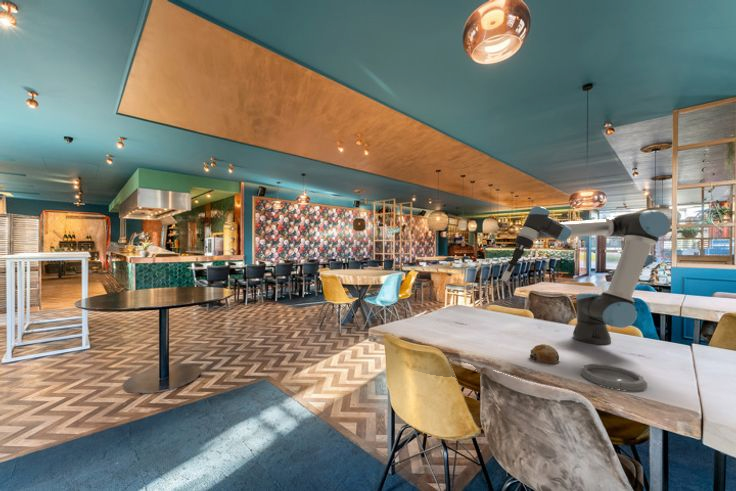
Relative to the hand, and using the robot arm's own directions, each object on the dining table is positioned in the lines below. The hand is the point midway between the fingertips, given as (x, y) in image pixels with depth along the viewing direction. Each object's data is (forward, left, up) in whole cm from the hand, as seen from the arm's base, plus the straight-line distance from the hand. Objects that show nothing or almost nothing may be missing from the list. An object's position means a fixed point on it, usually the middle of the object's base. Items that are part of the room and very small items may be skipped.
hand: (504, 279), depth 138 cm
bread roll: (-4, +17, -32) cm, 36 cm away
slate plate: (-9, +39, -31) cm, 51 cm away
